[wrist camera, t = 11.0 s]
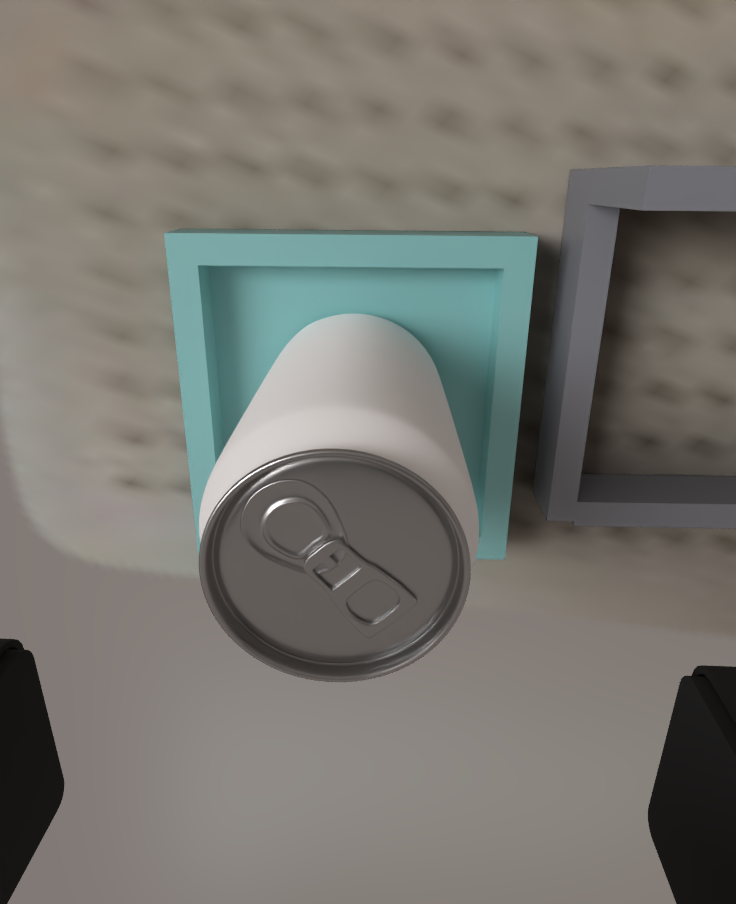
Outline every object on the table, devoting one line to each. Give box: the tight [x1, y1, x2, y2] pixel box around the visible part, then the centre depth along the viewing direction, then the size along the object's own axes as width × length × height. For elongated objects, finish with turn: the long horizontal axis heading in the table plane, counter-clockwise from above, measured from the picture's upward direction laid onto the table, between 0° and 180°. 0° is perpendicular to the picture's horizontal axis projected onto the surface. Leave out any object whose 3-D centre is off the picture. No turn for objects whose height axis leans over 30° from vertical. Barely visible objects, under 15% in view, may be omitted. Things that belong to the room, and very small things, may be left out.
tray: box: [164, 229, 538, 559], centre depth 24 cm, size 12×12×2 cm
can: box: [199, 313, 479, 682], centre depth 19 cm, size 6×6×12 cm
